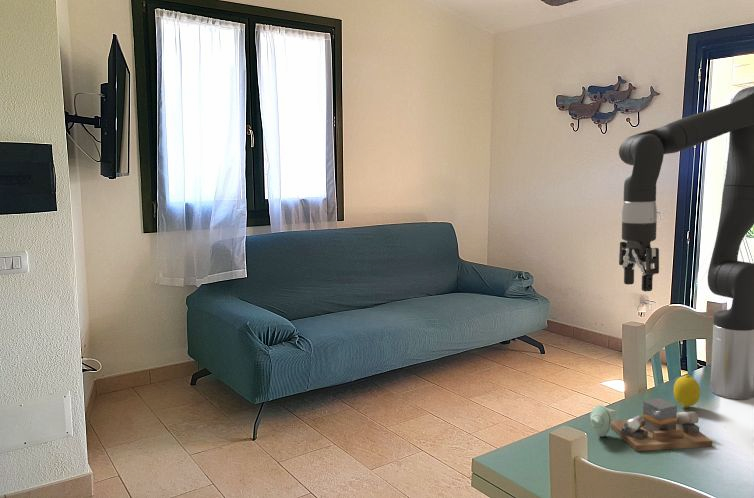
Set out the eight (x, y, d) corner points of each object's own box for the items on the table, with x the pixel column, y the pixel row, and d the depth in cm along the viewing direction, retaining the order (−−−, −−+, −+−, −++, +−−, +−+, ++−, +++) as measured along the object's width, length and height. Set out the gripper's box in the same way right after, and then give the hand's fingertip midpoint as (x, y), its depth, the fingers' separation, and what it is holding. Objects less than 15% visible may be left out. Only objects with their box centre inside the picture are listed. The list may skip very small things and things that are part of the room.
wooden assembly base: (678, 421, 131) (679, 401, 131) (712, 446, 119) (713, 424, 119) (608, 425, 130) (609, 405, 130) (635, 451, 119) (636, 428, 118)
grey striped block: (658, 424, 128) (659, 397, 127) (676, 432, 123) (677, 405, 123) (642, 428, 126) (643, 401, 125) (659, 436, 122) (660, 409, 121)
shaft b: (629, 428, 126) (629, 412, 125) (649, 435, 122) (650, 419, 122) (619, 434, 123) (619, 418, 123) (639, 441, 120) (640, 424, 120)
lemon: (702, 413, 135) (704, 379, 134) (676, 411, 137) (678, 378, 135) (694, 403, 141) (696, 371, 140) (670, 402, 142) (671, 370, 141)
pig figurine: (600, 445, 122) (600, 414, 121) (581, 439, 125) (582, 408, 124) (618, 433, 127) (619, 403, 126) (600, 427, 130) (601, 398, 129)
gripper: (671, 222, 132) (669, 292, 134) (639, 217, 146) (637, 281, 148) (639, 223, 132) (637, 294, 134) (609, 218, 146) (608, 282, 148)
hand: (637, 287), depth 141 cm, fingers open, 8 cm apart
